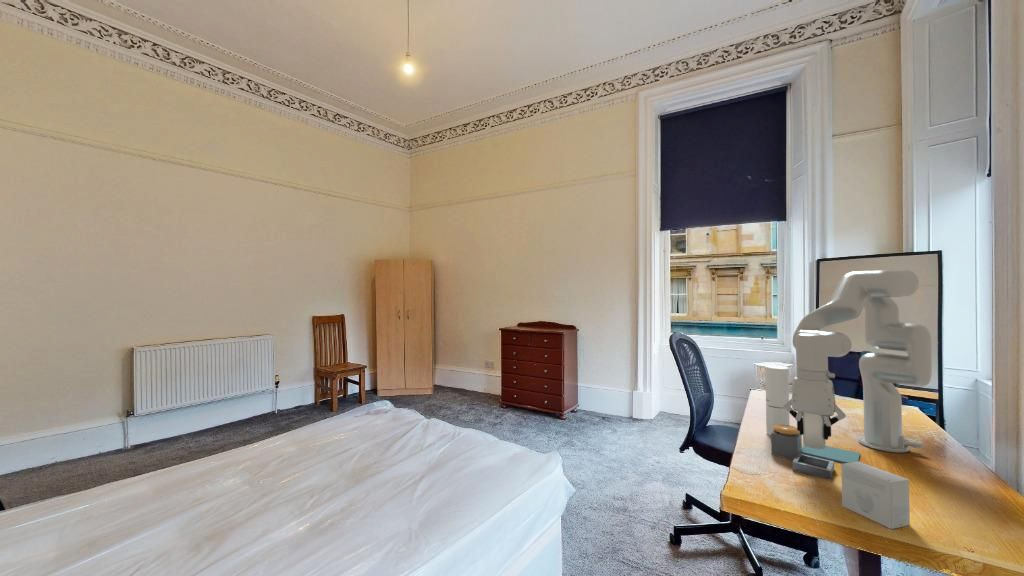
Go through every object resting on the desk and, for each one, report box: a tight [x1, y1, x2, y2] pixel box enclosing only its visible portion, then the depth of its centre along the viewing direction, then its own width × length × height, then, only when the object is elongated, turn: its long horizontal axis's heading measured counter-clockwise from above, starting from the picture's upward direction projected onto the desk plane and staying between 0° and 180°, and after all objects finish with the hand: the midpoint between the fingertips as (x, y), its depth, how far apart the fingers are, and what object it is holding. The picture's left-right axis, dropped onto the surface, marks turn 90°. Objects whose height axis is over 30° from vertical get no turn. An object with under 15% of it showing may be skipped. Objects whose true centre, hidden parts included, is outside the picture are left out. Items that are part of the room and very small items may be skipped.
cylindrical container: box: [765, 364, 791, 436], centre depth 145 cm, size 7×7×25 cm
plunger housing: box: [770, 430, 803, 461], centre depth 128 cm, size 7×7×7 cm
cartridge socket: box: [791, 453, 835, 481], centre depth 116 cm, size 9×9×2 cm
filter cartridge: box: [802, 412, 826, 449], centre depth 117 cm, size 5×5×11 cm
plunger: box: [773, 424, 800, 436], centre depth 128 cm, size 7×7×5 cm
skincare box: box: [840, 460, 911, 530], centre depth 93 cm, size 10×6×10 cm, turn 17°
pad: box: [802, 444, 861, 464], centre depth 128 cm, size 14×12×1 cm
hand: (813, 435), depth 117 cm, fingers closed on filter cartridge, 5 cm apart
